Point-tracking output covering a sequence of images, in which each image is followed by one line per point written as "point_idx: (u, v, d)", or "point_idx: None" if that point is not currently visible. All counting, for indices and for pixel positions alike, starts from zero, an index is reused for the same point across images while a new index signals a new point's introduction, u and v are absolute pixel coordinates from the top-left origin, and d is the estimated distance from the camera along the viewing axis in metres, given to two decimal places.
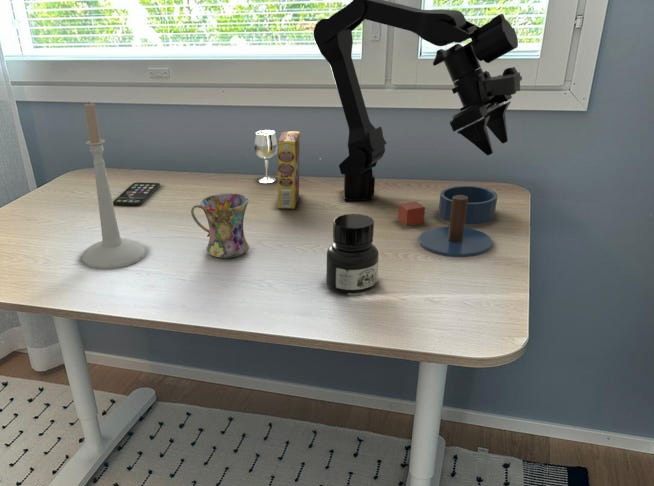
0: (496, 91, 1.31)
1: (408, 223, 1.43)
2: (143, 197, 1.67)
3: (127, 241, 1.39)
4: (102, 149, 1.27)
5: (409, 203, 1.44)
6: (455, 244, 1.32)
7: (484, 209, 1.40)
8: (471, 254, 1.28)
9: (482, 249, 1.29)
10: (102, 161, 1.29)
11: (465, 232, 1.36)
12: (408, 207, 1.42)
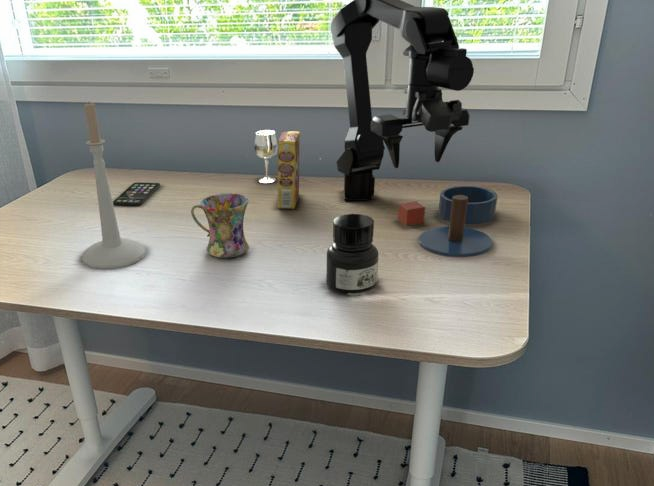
0: (422, 118, 1.28)
1: (408, 223, 1.43)
2: (143, 197, 1.67)
3: (127, 241, 1.39)
4: (102, 149, 1.27)
5: (409, 203, 1.44)
6: (455, 244, 1.32)
7: (484, 209, 1.40)
8: (471, 254, 1.28)
9: (482, 249, 1.29)
10: (102, 161, 1.29)
11: (465, 232, 1.36)
12: (408, 207, 1.42)
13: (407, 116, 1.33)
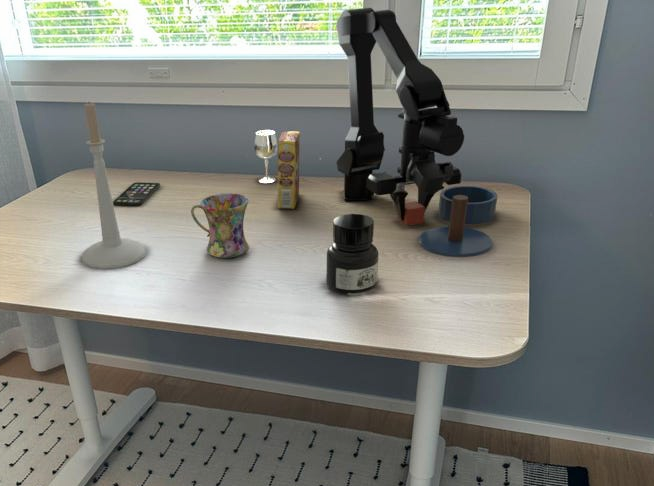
0: (415, 179, 1.35)
1: (408, 223, 1.43)
2: (143, 197, 1.67)
3: (127, 241, 1.39)
4: (102, 149, 1.27)
5: (409, 203, 1.44)
6: (455, 244, 1.32)
7: (484, 209, 1.40)
8: (471, 254, 1.28)
9: (482, 249, 1.29)
10: (102, 161, 1.29)
11: (465, 232, 1.36)
12: (408, 207, 1.42)
13: (401, 175, 1.39)
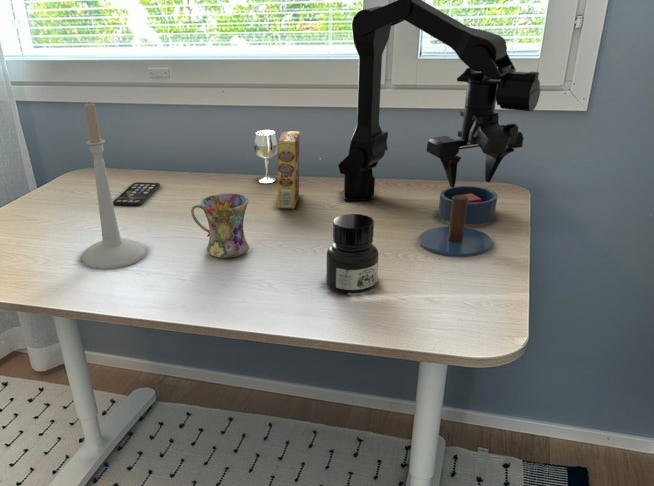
0: (478, 141, 1.33)
1: None
2: (143, 197, 1.67)
3: (127, 241, 1.39)
4: (102, 149, 1.27)
5: (465, 195, 1.45)
6: (455, 244, 1.32)
7: (484, 209, 1.40)
8: (471, 254, 1.28)
9: (482, 249, 1.29)
10: (102, 161, 1.29)
11: (465, 232, 1.36)
12: None
13: (463, 138, 1.37)
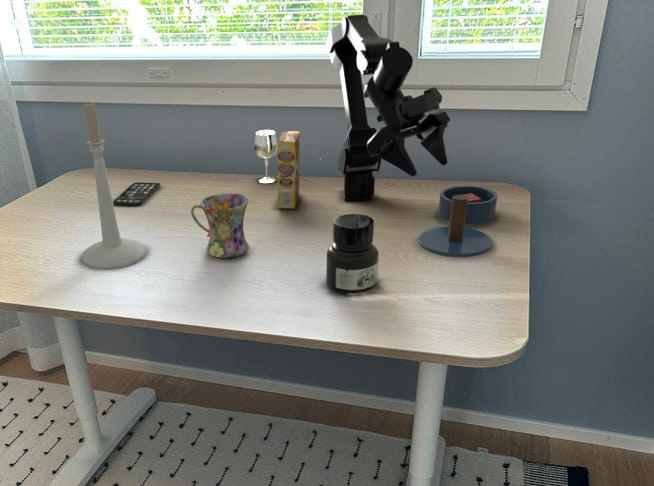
0: (411, 112, 1.28)
1: None
2: (143, 197, 1.67)
3: (127, 241, 1.39)
4: (102, 149, 1.27)
5: (465, 195, 1.45)
6: (455, 244, 1.32)
7: (484, 209, 1.40)
8: (471, 254, 1.28)
9: (482, 249, 1.29)
10: (102, 161, 1.29)
11: (465, 232, 1.36)
12: None
13: None
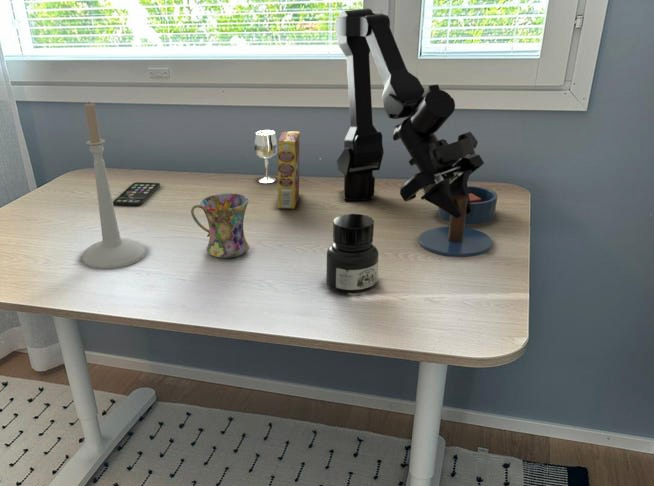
0: (445, 157, 1.26)
1: None
2: (143, 197, 1.67)
3: (127, 241, 1.39)
4: (102, 149, 1.27)
5: None
6: (455, 244, 1.32)
7: (484, 209, 1.40)
8: (471, 254, 1.28)
9: (482, 249, 1.29)
10: (102, 161, 1.29)
11: (465, 232, 1.36)
12: None
13: None
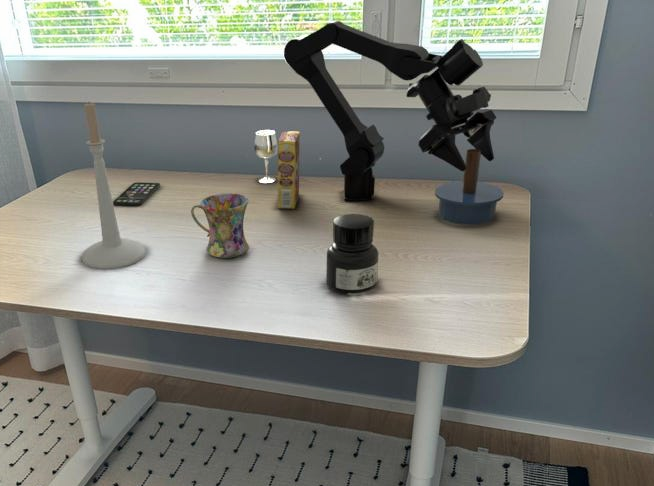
0: (461, 110, 1.35)
1: None
2: (143, 197, 1.67)
3: (127, 241, 1.39)
4: (102, 149, 1.27)
5: None
6: (469, 195, 1.41)
7: (484, 209, 1.40)
8: (484, 203, 1.38)
9: (494, 199, 1.39)
10: (102, 161, 1.29)
11: (478, 185, 1.46)
12: None
13: None
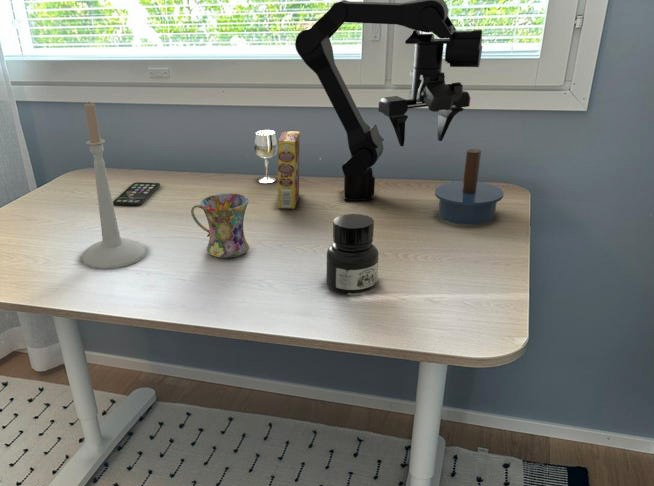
0: (425, 99, 1.40)
1: None
2: (143, 197, 1.67)
3: (127, 241, 1.39)
4: (102, 149, 1.27)
5: None
6: (469, 195, 1.41)
7: (484, 209, 1.40)
8: (484, 203, 1.38)
9: (494, 199, 1.39)
10: (102, 161, 1.29)
11: (478, 185, 1.46)
12: None
13: (412, 98, 1.44)
